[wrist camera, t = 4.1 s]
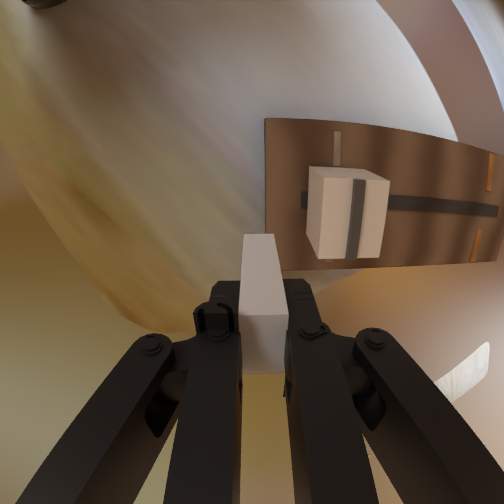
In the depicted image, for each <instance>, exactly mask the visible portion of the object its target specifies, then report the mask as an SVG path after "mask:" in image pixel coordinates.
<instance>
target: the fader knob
mask: <svg viewBox="0 0 504 504" xmlns="http://www.w3.org/2000/svg"><path fill="white" fill-rule="evenodd" d="M389 187H390V181H389V180H386V179H384V178H382V177H380V176H378V175H376V174H374V173H372V172H370V171H367V170H365V169H355V168H338V167H314V166H309V184H308V208H307V228H306V234H307V236H308V238H309V241H310V243H311V245H312V247H313V249H314V251H315V253H316V256H317V258H318V259H344V258H345V259H346V261H356V260H357V258H379V255H380V249H381V244H382V238H383V232H384V225H385V219H386V212H387V204H388V196H389Z"/></svg>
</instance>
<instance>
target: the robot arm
mask: <svg viewBox="0 0 504 504" xmlns="http://www.w3.org/2000/svg"><path fill="white" fill-rule="evenodd" d="M63 1H65V0H22V2H24V3H25V4H27V5H29V6H32V7H35V8H48V7H52V6H54V5H57V4H59V3H61V2H63ZM193 316H194V322H195V327H196V333H197V334H196V336H195V337H193V338H190V339H188V340H184V341H179V342H174V343H172V342H171V340H170V339H169V338H168V337H167V336H165V335H162V334H155V333H153V334H147V335H145V336H142V337H140V338H139V339H138V340H137V341H135V342H134V343H133V345H132V346H131V347H130V348H129V350H128V351H127V352H126V353H125V354H124V356H123V357H122V358H121V360H120V361H119V362H118V364H117V365H116V366H115V367H114V368H113V370H112V371H111V372H110V373H109V375H108V376H107V377H106V378H105V380H104V381H103V383H102V384H101V385H100V386H99V387H98V389H97V390H96V391H95V393H94V394H93V395H92V397H91V398H90V399H89V401H88V402H87V403H86V405H85V406H84V407H83V408H82V410H81V411H80V413H79V414H78V415H77V416H76V418H75V419H74V420H73V422H72V423H71V424H70V426H69V427H68V429H67V430H66V431H65V433H64V434H63V435H62V437H61V438H60V439H59V441H58V442H57V444H56V445H55V446H54V448H53V449H52V451H51V452H50V453H49V455H48V456H47V458H46V459H45V460H44V462H43V463H42V465H41V466H40V468H39V469H38V471H37V472H36V474H35V475H34V476H33V478H32V479H31V481H30V482H29V484H28V485H27V487H26V488H25V490H24V491H23V493H22V494H21V496H20V497H19V499H18V500H17V502H16V503H15V504H133V503H134V501H135V499H136V497H137V495H138V493H139V491H140V490H141V488H142V486H143V484H144V482H145V480H146V478H147V476H148V474H149V472H150V471H151V469H152V467H153V465H154V463H155V461H156V459H157V457H158V455H159V453H160V452H161V450H162V448H163V446H164V444H165V442H166V440H167V438H168V436H169V434H170V432H171V430H172V429H173V427H174V425H175V423H176V421H177V419H178V423H177V428H176V433H175V438H174V443H173V449H172V454H171V460H170V465H169V471H168V477H167V483H166V489H165V495H164V502H163V504H240V468H241V463H240V462H241V426H242V425H241V424H242V388H243V384H242V374H264V373H265V374H267V373H284V367H285V385H284V394H283V397H286V404H287V415H288V426H289V435H290V436H289V437H290V448H291V458H292V459H291V460H292V471H293V483H294V495H295V504H379V501H378V497H377V492H376V488H375V483H374V479H373V475H372V471H371V466H370V463H369V458H368V454H367V451H366V447H365V443H364V439H363V435H364V437H365V438H366V440H367V442H368V444H369V445H370V447H371V449H372V450H373V452H374V454H375V456H376V457H377V459H378V460H379V462H380V464H381V466H382V467H383V469H384V471H385V473H386V474H387V476H388V478H389V479H390V481H391V483H392V484H393V486H394V488H395V490H396V491H397V493H398V495H399V496H400V498H401V500H402V502H403V503H404V504H504V472H503V470H502V469H501V467H500V466H499V465H498V463H497V462H496V460H495V459H494V458H493V456H492V455H491V454H490V452H489V451H488V450H487V448H486V447H485V446H484V444H482V442H481V441H480V439H479V438H478V437H477V435H476V434H475V433H474V432H473V430H472V429H471V428H470V426H469V425H468V424H467V423H466V421H465V420H464V419H463V418H462V416H461V415H460V414H459V413H458V412H457V410H456V409H455V408H454V407H453V405H452V404H451V403H450V402H449V401H448V399H447V398H446V397H445V396H444V395H443V393H442V392H441V391H440V390H439V389H438V387H437V386H436V385H435V384H434V383H433V382H432V380H431V379H430V378H429V377H428V376H427V375H426V374H425V373H424V371H423V370H422V369H421V368H420V367H419V365H418V364H417V363H416V362H415V361H414V360H413V359H412V358H411V356H410V355H409V354H408V353H407V352H406V351H405V350H404V349H403V347H402V346H401V345H400V344H399V343H398V342H397V341H396V340H395V339H394V338H393V336H391V335H390V334H389V333H388V332H387V331H384V330H381V329H379V328H366V329H363V330H361V331H359V333H358V334H357V335H356V338H351V337H345V336H340V335H336V334H334V333H332V332H331V330H330V328H329V327H328V325H326V324H325V323H323V322H322V320H321V317H320V315H319V311H318V308H317V305H316V302H315V300H314V296H313V294H312V290H311V287H310V284H308V283H307V282H306V281H305V280H304V279H282V274H281V269H280V264H279V258H278V253H277V248H276V243H275V237H274V234H244V241H243V255H242V269H241V281H218V282H217V283H216V284H215V285H214V286H213V287H212V290H211V295H210V299H209V301H208V302H205V303H202V304H201V305H199V306H198V307H196V309H195V310H194V312H193ZM362 434H363V435H362Z"/></svg>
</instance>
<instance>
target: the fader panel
mask: <svg viewBox="0 0 504 504" xmlns="http://www.w3.org/2000/svg"><path fill="white" fill-rule="evenodd" d="M264 138H265V234H274V237H275V243H276V248H277V253H278V258H279V264H280V269H281V271H285V270H322V269H353V268H378V267H401V266H422V265H441V264H458V263H475V262H490V261H496V260H497V256H498V254H499V250H500V247H501V243H502V239H503V236H504V156H501V155H499V154H496V153H493V152H490V151H486V150H483V149H480V148H477V147H473V146H470V145H467V144H463V143H459V142H456V141H452V140H448V139H444V138H439V137H435V136H431V135H426V134H421V133H416V132H411V131H406V130H400V129H394V128H388V127H382V126H375V125H367V124H359V123H350V122H340V121H328V120H313V119H291V118H265V119H264ZM309 166H314V167H338V168H355V169H365V170H367V171H370V172H372V173H374V174H376V175H378V176H380V177H382V178H384V179H386V180H389V181H390V187H389V196H388V204H387V212H386V219H385V225H384V232H383V238H382V244H381V249H380V255H379V258H357V260H356V261H346V259H345V258H344V259H318V258H317V256H316V253H315V251H314V249H313V247H312V245H311V243H310V241H309V238H308V236H307V234H306V228H307V208H308V184H309Z"/></svg>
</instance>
